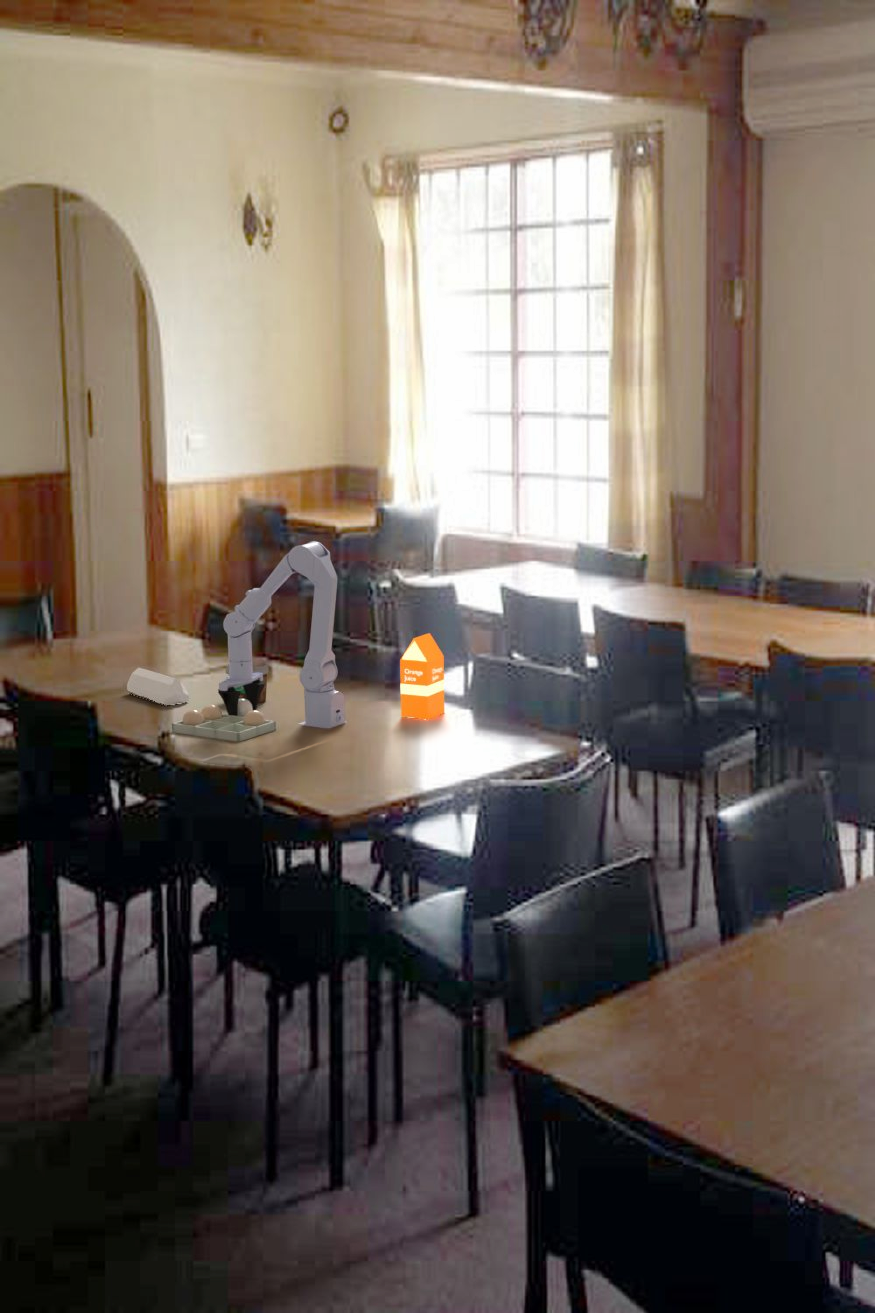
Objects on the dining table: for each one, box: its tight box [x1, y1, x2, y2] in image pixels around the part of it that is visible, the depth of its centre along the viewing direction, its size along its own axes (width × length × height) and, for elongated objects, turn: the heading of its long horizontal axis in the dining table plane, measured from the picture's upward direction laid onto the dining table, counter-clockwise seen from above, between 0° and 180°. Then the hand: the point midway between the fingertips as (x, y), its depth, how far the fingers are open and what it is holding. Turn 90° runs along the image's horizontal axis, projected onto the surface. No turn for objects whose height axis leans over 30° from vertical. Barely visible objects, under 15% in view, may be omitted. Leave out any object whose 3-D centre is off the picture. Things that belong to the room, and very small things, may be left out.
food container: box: [225, 662, 270, 704], centre depth 422 cm, size 12×6×10 cm, turn 62°
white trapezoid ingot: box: [126, 667, 190, 706], centre depth 431 cm, size 7×7×24 cm
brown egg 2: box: [201, 703, 223, 720], centre depth 397 cm, size 5×5×5 cm
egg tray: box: [171, 713, 277, 743], centre depth 391 cm, size 20×14×3 cm
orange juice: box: [399, 632, 445, 721], centre depth 405 cm, size 8×9×20 cm
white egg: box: [237, 698, 253, 717], centre depth 404 cm, size 5×5×5 cm
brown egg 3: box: [244, 709, 266, 727], centre depth 390 cm, size 5×5×5 cm
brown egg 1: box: [182, 709, 204, 726], centre depth 391 cm, size 5×5×5 cm
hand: (242, 714), depth 404 cm, fingers open, 7 cm apart
